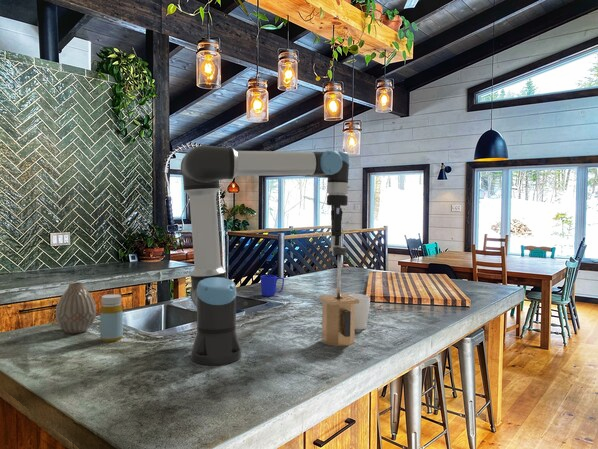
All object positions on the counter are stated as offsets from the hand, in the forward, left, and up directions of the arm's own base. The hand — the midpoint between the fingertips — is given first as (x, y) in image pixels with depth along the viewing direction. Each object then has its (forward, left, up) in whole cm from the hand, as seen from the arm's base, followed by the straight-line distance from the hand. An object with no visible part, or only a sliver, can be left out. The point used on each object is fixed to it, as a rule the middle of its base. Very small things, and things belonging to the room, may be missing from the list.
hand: (335, 252), depth 162 cm
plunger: (-3, -11, -17) cm, 20 cm away
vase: (-90, +26, -30) cm, 98 cm away
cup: (+11, +3, -30) cm, 32 cm away
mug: (-6, +68, -30) cm, 75 cm away
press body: (-3, -12, -29) cm, 32 cm away
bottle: (-77, +12, -30) cm, 83 cm away
